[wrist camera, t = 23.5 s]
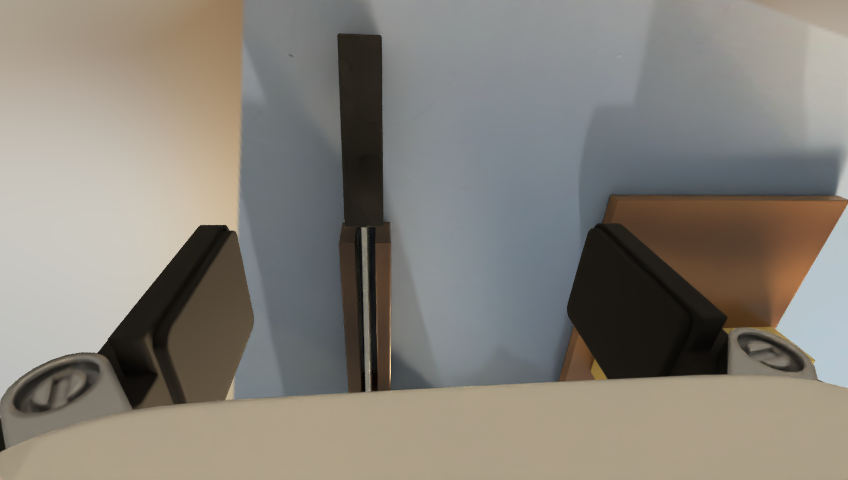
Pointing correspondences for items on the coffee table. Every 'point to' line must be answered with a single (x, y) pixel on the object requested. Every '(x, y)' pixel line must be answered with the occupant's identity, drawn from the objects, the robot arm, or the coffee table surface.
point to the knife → (362, 151)
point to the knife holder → (353, 308)
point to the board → (725, 251)
